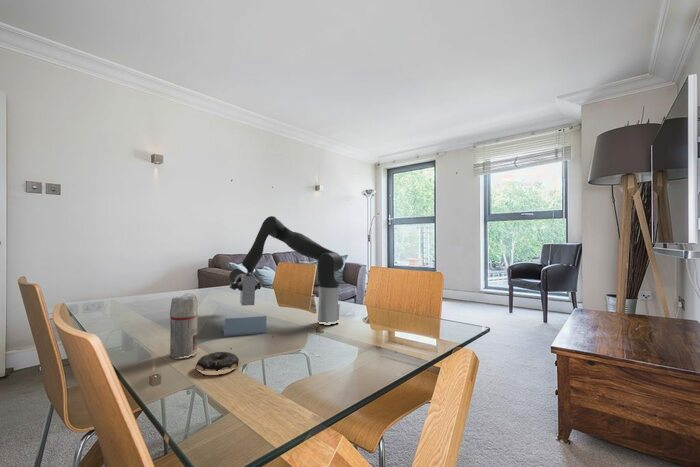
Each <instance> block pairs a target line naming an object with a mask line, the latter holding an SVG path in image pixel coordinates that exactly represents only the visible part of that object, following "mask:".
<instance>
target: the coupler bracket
mask: <svg viewBox="0 0 700 467" xmlns="http://www.w3.org/2000/svg"><path fill="white" fill-rule="evenodd" d="M267 319H268V318H267V315H255V316H240V317H238V316H237V317H225V318H224V327H222V333H223V336H224V337H233V336H243V335H245V336H246V335H253V334H255V335H257V334H266V333H267Z"/></svg>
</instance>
